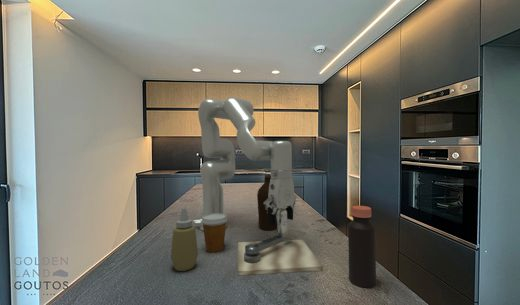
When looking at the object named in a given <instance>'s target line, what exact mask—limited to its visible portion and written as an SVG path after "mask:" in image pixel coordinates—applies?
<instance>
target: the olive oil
mask: <svg viewBox="0 0 520 305" xmlns="http://www.w3.org/2000/svg"><path fill="white" fill-rule="evenodd" d="M270 174H271V173H265V174H264V183H262V184H261V186H260V187H259V188H258V190H257V192H256V193H257V194H256V197H257V199H256V200H257V212H258V229H260V230H262V231H276V230H277V211H278V210H279V209H280V208H277V210H276V212H275V214H276V226H273V225H270V224H268V213H267V211H266V210H265V206H264V202H265V201H266V200H267V199H268V195H269V184H270V179H271V175H270ZM272 210H273V207H272Z"/></svg>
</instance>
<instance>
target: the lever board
mask: <svg viewBox="0 0 520 305" xmlns="http://www.w3.org/2000/svg"><path fill="white" fill-rule="evenodd" d="M262 241H263V240H262ZM262 241H241V242H239V241H238V242H237V276H247V275H249V276H250V275H251V276H252V275H268V274H283V273H300V272H301V273H302V272H316V271H317V272H320V271H323V270H324V269H323V265H322V264H321V262H320V261H319V259H318V258H317V257H316V256H315V254H314V253H313V251H312V250H311V249H310V247H309V246H308V244H307V243H306V242H305V240H304V239H285V241H283V242H280V243H278V244H276V245H273V246H271V247H269V248H266V249H264V250H262V251H259V254H258V255H255V256H248V255H246V254H245V246H246V245H248V244H257V243H259V242H262Z"/></svg>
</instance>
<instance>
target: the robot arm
mask: <svg viewBox="0 0 520 305" xmlns="http://www.w3.org/2000/svg"><path fill="white" fill-rule="evenodd" d="M254 110H255V109H254V105H253V104H252V102H250V101H249V100H247V99H243V98H239V97H234V96H233V97H228V98H226V99H224V100H221V99H215V98H206V99H203V100H202V101H201V102H200V104H199V106H198V110H197V111H198V113H197V115H198V121H199V124H200V133H201V134H200V136H201V148H202V154H203V156H204V157H206V158H210V159H212V158H214V159H216V158H220V159H216V160H207V161H205V162H203V163H202V164H201V165H200V169H199V172H200V174H199V175H200V178H201V183H202V184H201V186H202V217H203V216H204V215H207V214H213V213H221V214H225V212H224V187H223V185H222V183H221V182H220V181H223V180H230V179H232V178H233V177H234V175H235V174H236V158H235V146H234V144H233V142H232V141H231V140H230V139H228V138H226V137H225V138H223V137H221V135H220V134H221V133H220V127H219V125H218V123H217V121H216V119H221V120H226V121H230V122H231V124H232V125H233V126H234V128H235V129H236V131H237V132H236V142H237V145H238V147H239V148H240V150H241V151H242V153H243V155H245V157H246V158H247V159H249V160H250V161H254V162H257V161H259V162H260V161H264V162H265V161H270V173H269V174H270V175H271V179H270V184H269V195H268V199H267V200H266V201H265V202H264V206H265V210H266V211H267V213H268V224H270V225H273V226H276V214H275V212H276V210H277V208H279V209H280V208H284V209H285V210H286V211H287V220H290V221H293V220H294V209H295V205H296V201H297V195H295V187H294V186H295V184H294V180H293V177H292V175H293V174H292V172H293V171H292V168H293V165H292V164H293V163H292V162H293V161H292V160H293V159H292V157H293V155H292V152H293V150H292V149H293V148H292V143H291V141H289V140H288V141H287V140H275V141H271V140H258V139H257V140H256V138H255V137H254V136H253V135H252V133H251V131H252V130H253V129H254V127H255V126H256V119H255V118H254V116H253V115H254V112H255V111H254ZM272 207H273V210H272ZM201 220H202V218H200V219H198V218H196V219H193V224H195V225H199V230H200V231H203V232H204V230H203V224H202V222H201ZM226 228H228V224H227V223H226Z"/></svg>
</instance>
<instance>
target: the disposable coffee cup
mask: <svg viewBox="0 0 520 305" xmlns="http://www.w3.org/2000/svg"><path fill="white" fill-rule="evenodd" d="M227 217H228V216H227V214H226V213H224V214H221V213H213V214H207V215H204V216H203V215H202V218H201V219H202V220H201V222H202V224H203V230H204V231H203V235H204V243H205V250H206V252H209V253H218V252H221V251H223V250H224V245H225V238H226V229H227V227H226V224H227V222H228V219H229V218H227Z"/></svg>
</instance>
